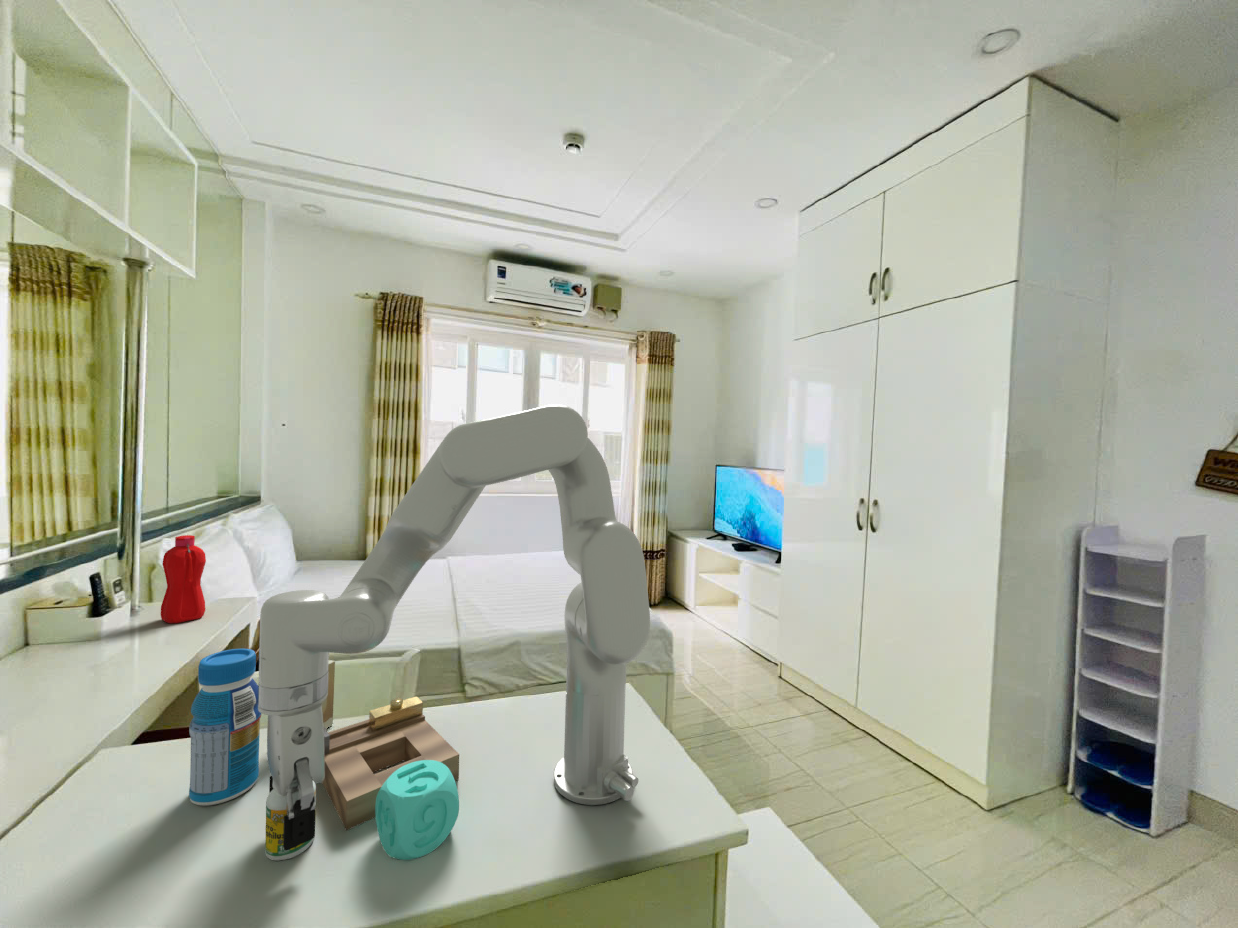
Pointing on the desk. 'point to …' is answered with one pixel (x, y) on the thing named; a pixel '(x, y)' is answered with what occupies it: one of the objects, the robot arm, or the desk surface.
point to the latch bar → (395, 713)
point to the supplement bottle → (280, 825)
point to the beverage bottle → (224, 728)
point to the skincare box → (329, 697)
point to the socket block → (376, 762)
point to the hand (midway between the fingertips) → (290, 821)
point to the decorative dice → (416, 809)
